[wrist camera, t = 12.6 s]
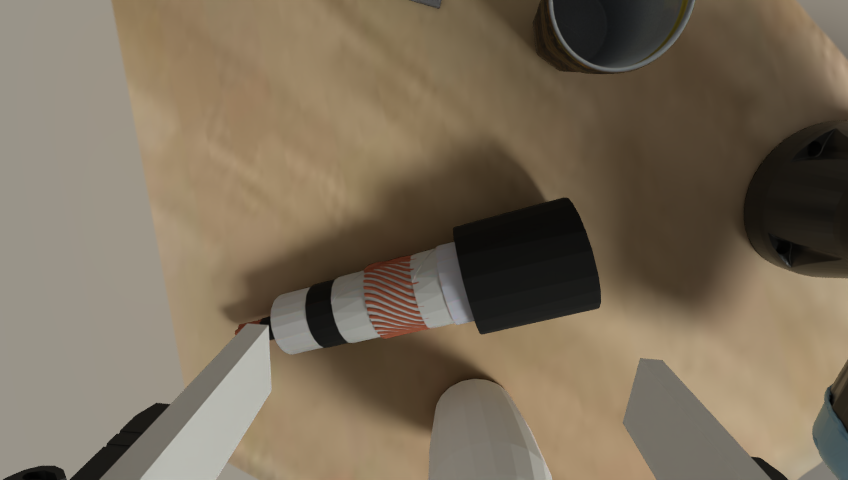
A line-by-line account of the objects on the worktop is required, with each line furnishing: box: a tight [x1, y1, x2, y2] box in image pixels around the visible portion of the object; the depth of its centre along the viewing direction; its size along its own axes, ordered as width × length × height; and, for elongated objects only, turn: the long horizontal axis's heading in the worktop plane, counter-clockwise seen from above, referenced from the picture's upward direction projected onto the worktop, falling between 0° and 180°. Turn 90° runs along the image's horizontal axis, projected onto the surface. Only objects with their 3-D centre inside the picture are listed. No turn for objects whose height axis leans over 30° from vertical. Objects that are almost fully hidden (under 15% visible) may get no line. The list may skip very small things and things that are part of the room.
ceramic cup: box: [533, 0, 695, 74], centre depth 31 cm, size 13×10×10 cm
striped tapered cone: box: [235, 198, 601, 355], centre depth 38 cm, size 10×34×10 cm, turn 104°
